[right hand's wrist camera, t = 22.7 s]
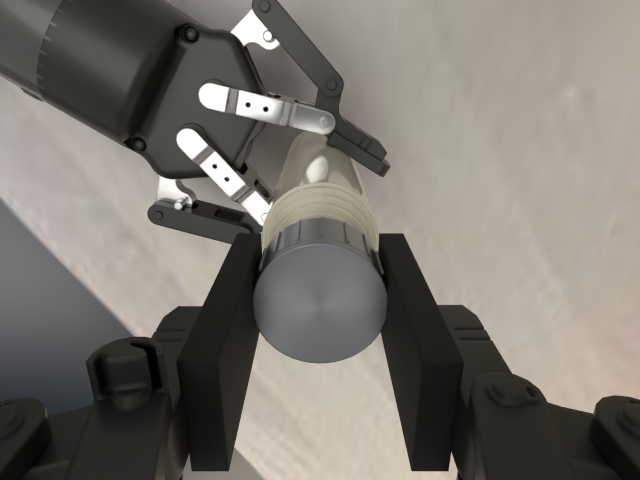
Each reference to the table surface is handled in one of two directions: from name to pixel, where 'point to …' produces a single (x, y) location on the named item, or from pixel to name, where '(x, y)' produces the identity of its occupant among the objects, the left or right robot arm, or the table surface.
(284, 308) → the cap
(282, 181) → the bottle
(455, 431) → the right robot arm
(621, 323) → the table surface
